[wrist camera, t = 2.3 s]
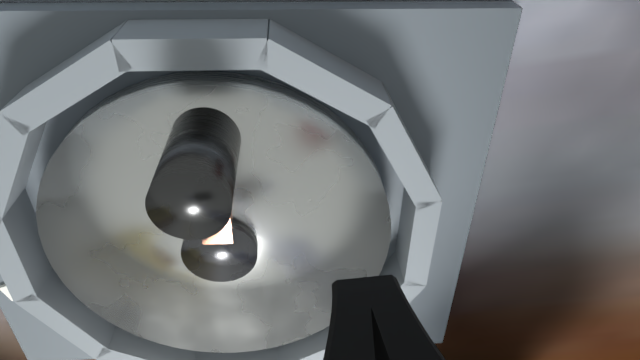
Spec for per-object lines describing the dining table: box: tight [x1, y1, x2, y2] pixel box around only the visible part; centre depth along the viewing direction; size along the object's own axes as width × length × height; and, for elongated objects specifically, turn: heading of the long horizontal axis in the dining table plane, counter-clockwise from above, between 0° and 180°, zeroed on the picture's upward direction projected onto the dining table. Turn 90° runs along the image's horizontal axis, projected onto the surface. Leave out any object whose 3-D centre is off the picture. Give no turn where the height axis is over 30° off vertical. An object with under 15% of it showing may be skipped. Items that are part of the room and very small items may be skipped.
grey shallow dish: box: [0, 0, 522, 360], centre depth 21 cm, size 18×22×3 cm
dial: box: [36, 71, 391, 353], centre depth 19 cm, size 14×14×5 cm
